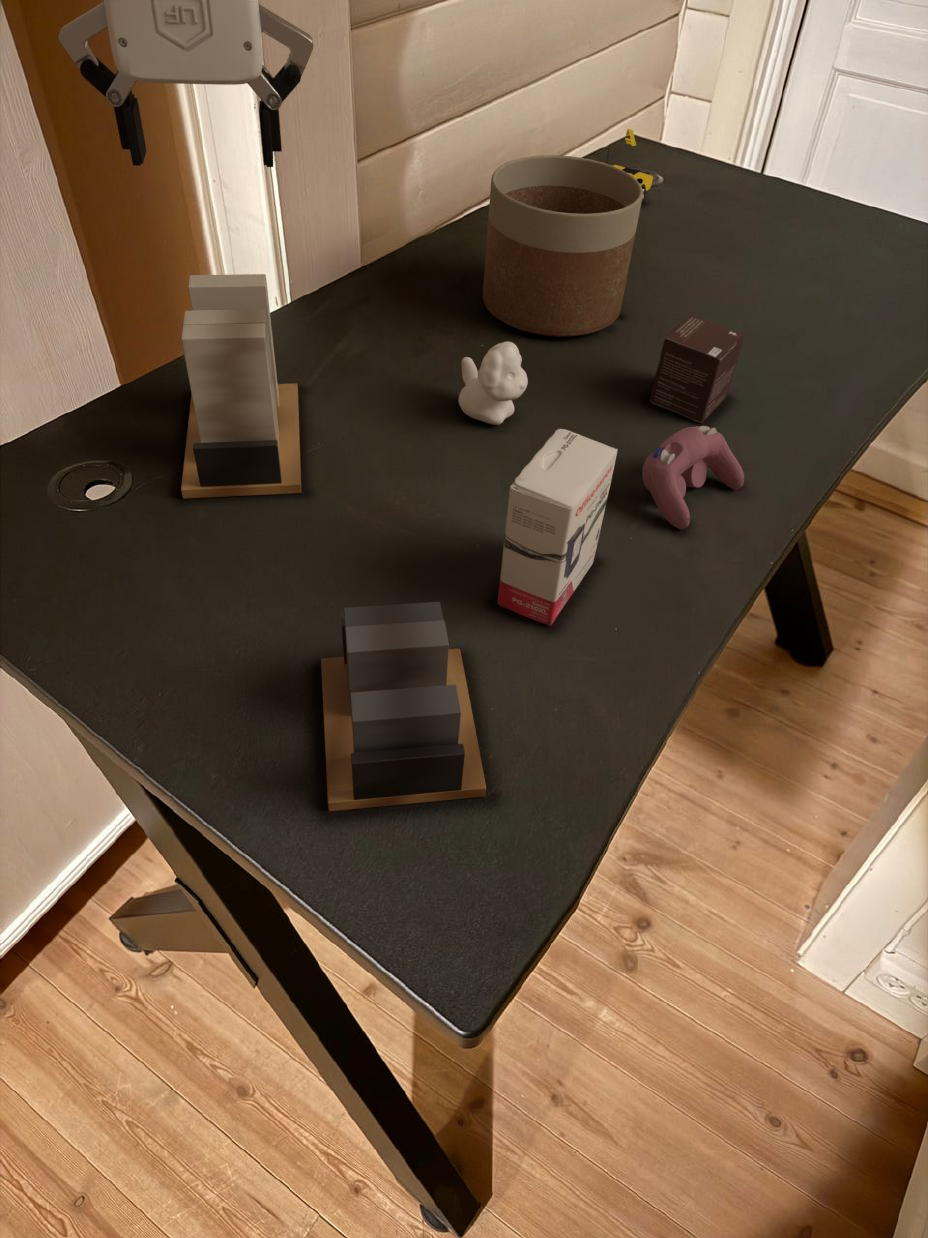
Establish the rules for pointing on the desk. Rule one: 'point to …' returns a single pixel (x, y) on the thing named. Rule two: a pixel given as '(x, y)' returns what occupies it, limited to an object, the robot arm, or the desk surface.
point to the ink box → (554, 524)
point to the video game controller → (688, 469)
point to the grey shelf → (398, 712)
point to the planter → (559, 243)
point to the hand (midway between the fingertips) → (205, 159)
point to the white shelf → (237, 409)
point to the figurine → (493, 384)
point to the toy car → (642, 178)
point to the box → (696, 368)
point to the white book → (234, 300)
